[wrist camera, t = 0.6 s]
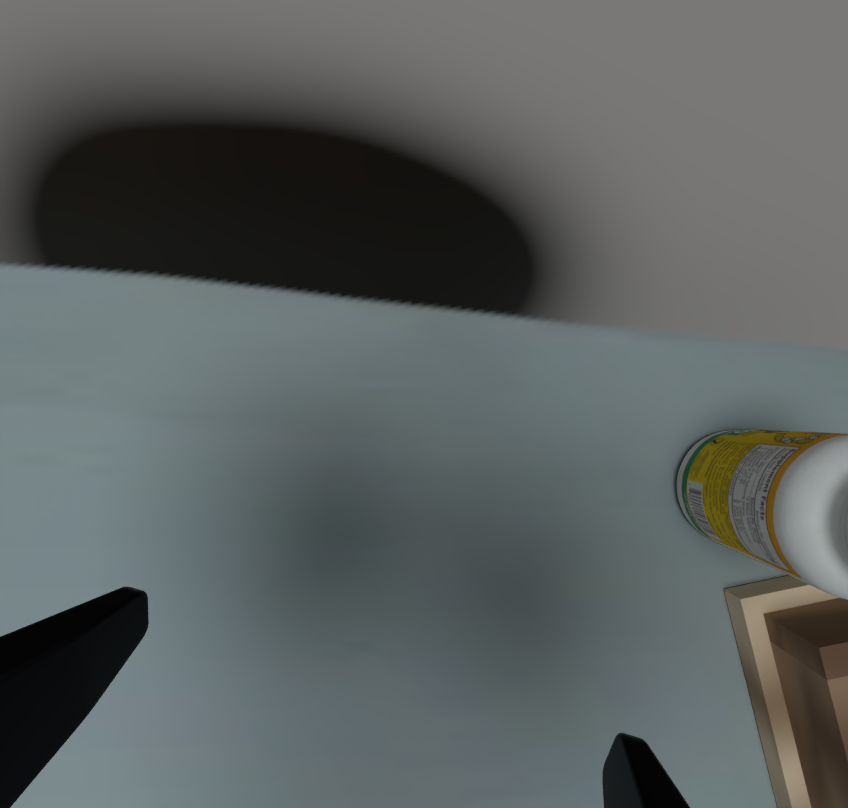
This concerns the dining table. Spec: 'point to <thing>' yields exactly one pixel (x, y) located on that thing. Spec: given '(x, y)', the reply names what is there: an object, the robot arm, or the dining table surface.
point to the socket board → (797, 686)
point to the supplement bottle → (773, 500)
